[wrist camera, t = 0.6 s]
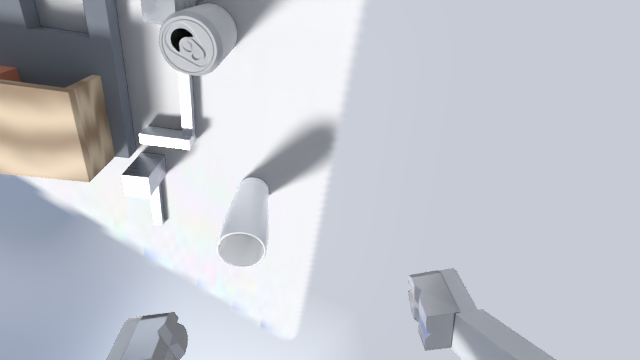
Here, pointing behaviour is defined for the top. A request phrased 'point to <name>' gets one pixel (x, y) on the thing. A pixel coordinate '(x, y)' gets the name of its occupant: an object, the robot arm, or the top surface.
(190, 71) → the beverage can
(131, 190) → the mallet
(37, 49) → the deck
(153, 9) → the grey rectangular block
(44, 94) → the cubby
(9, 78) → the cube
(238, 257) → the drinking glass
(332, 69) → the top surface
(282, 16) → the top surface
